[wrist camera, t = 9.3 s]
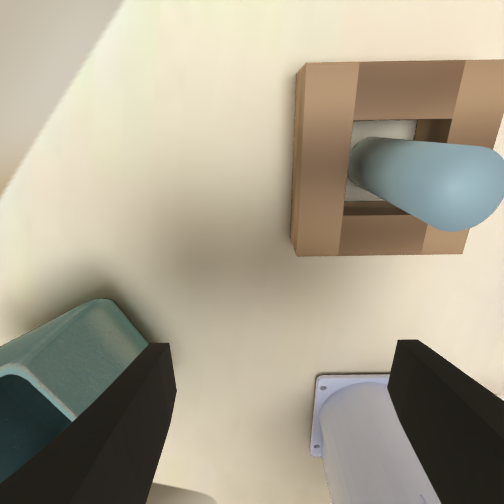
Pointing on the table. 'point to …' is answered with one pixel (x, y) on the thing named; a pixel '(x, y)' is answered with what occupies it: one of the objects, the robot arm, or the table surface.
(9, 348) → the flower pot
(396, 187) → the blue-gray dowel
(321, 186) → the open cardboard frame
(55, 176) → the table surface
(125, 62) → the table surface
